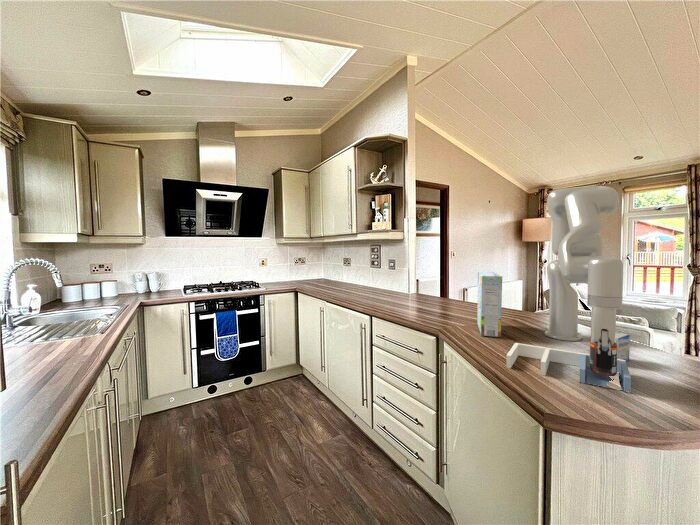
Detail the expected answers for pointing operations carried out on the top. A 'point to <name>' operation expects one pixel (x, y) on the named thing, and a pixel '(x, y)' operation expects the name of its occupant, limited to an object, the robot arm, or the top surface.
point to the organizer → (567, 358)
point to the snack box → (489, 304)
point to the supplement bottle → (593, 360)
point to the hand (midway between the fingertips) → (603, 363)
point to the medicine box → (622, 345)
